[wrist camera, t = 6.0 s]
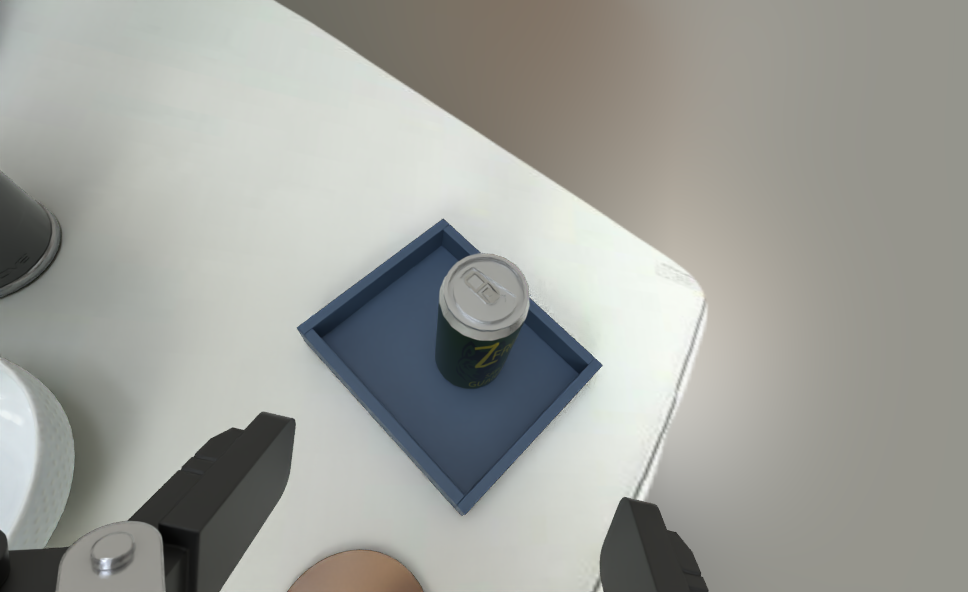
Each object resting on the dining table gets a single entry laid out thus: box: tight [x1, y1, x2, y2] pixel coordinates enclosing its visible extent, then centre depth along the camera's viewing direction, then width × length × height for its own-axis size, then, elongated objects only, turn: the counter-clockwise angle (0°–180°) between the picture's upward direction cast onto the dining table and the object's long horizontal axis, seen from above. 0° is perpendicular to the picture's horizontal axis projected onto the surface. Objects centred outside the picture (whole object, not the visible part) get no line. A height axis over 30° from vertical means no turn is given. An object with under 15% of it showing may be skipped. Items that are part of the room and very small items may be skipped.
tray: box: [297, 219, 602, 516], centre depth 38 cm, size 18×15×3 cm
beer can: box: [435, 253, 530, 389], centre depth 33 cm, size 5×5×12 cm
